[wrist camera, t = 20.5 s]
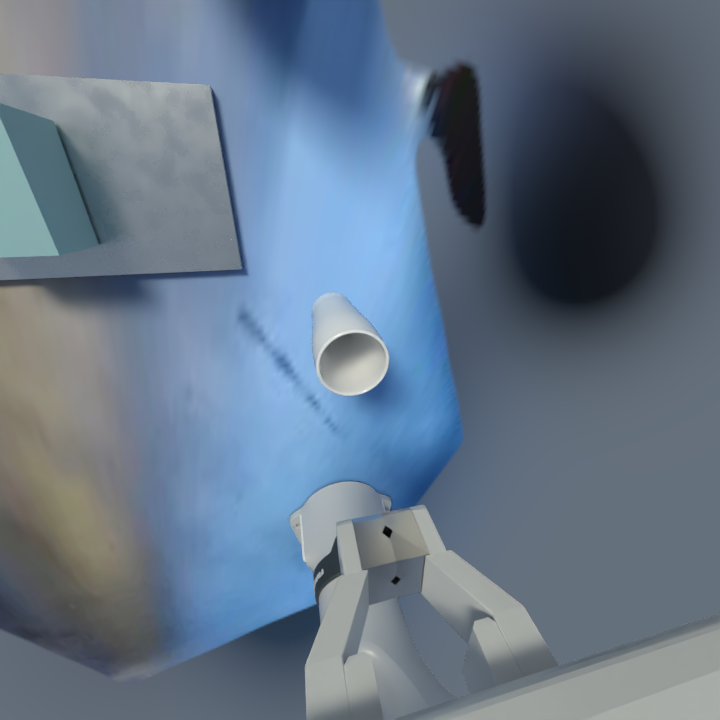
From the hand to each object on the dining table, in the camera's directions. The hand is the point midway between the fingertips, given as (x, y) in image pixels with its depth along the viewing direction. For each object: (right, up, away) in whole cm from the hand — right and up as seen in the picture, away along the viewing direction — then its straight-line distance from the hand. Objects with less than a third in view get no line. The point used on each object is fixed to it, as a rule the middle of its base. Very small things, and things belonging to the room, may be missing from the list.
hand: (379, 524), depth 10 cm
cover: (-31, +21, +18) cm, 41 cm away
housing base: (-30, +22, +19) cm, 41 cm away
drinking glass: (-4, +12, +30) cm, 33 cm away
